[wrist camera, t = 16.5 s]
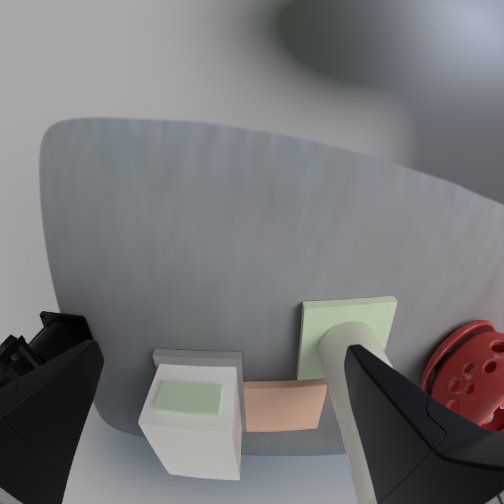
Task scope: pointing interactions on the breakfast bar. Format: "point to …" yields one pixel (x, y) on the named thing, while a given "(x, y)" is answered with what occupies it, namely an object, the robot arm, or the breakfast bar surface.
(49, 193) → the breakfast bar surface
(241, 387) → the grey unit
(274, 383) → the terracotta pad
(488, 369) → the plant pot
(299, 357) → the sage green pad
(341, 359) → the cream bottle
